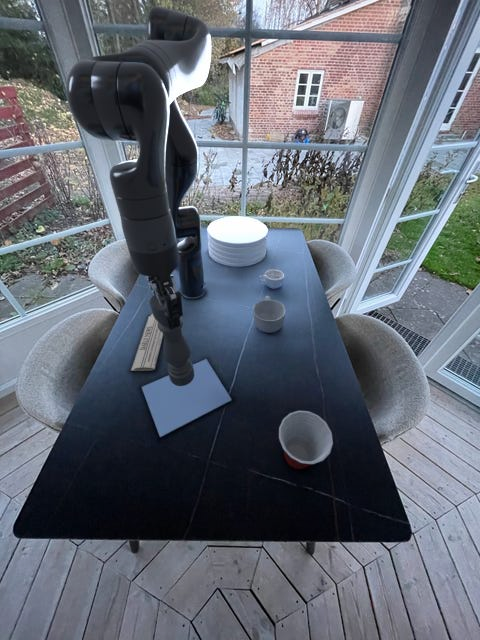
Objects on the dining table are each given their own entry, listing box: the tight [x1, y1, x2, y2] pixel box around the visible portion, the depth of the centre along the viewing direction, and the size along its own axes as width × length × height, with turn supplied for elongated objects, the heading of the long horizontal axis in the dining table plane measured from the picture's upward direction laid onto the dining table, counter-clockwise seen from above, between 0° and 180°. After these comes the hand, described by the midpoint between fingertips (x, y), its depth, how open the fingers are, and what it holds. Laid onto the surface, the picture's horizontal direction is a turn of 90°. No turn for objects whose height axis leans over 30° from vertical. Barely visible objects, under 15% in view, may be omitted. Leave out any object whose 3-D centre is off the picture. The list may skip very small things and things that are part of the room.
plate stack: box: [206, 216, 269, 268], centre depth 126 cm, size 28×28×12 cm
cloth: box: [141, 358, 233, 438], centre depth 73 cm, size 16×20×1 cm
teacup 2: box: [252, 295, 287, 334], centre depth 91 cm, size 14×11×8 cm
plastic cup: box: [278, 410, 334, 470], centre depth 58 cm, size 11×11×12 cm
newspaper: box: [130, 313, 164, 372], centre depth 86 cm, size 24×7×2 cm, turn 1°
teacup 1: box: [258, 269, 285, 290], centre depth 109 cm, size 10×8×5 cm
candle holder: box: [149, 294, 194, 386], centre depth 59 cm, size 6×6×25 cm
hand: (169, 317), depth 53 cm, fingers closed on candle holder, 5 cm apart
